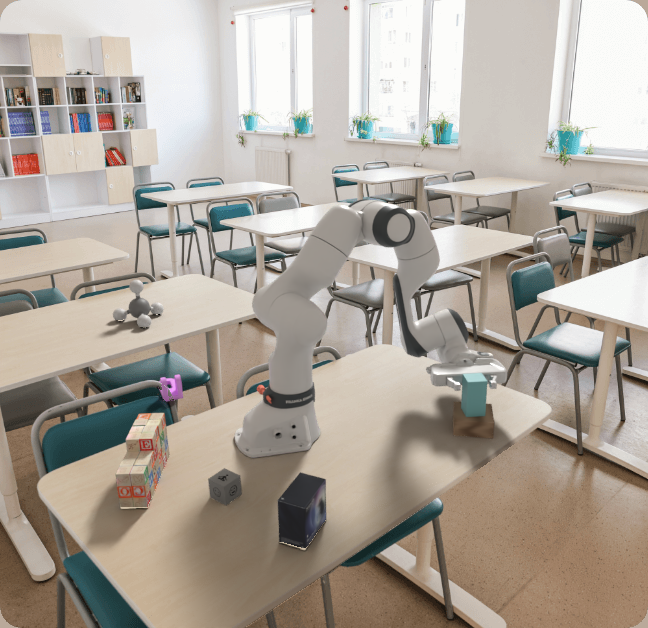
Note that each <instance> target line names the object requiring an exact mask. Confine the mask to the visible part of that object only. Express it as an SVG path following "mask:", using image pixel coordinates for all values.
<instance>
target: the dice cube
mask: <svg viewBox="0 0 648 628" xmlns="http://www.w3.org/2000/svg"><path fill="white" fill-rule="evenodd" d="M207 480H208V482H207V483H208V491H209V492H208V493H209V498H210V499H213V500H214V501H215V502H218V503H220V504H222V505H223V504H224V506H225V505H226V506H228V505H229V504H230V502H231V501H232V502H233V501H235V500H236V499H238V498H239V497H240V496H241V495H243V492H242V491H243V490H242V480H241V474H238V473H236V472H234V471H231V470H229V469H227V468H225V467H224V468H223V469H221V470H220V471H217V472H216V473H215V474H213V475H211V477H208V479H207ZM234 499H235V500H234ZM232 502H231V503H232ZM227 504H228V505H227Z"/></svg>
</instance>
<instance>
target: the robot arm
mask: <svg viewBox="0 0 648 628" xmlns="http://www.w3.org/2000/svg"><path fill="white" fill-rule="evenodd" d="M361 241H363V242H366V243H367V244H370V245H374V246H380V247H384V248H393V249H394V250H393V251H394V253H395V257H396V259H397V270H396V273H395V275H394V276H393V278H392V289H393V297H394V302H395V307H396V308H395V309H396V312H397V313H396V315H397V319H398V324H399V334H400V335H399V336H400V337H399V339H400V343H401V346H402V348H403V350H404V352H405V353H406V354H407V355H409V356H411V357H414V358H421V357H423V356H425V355H428V354H429V353H431V352H432V351H434V350H436V355H437V357H438V359H439V361H440V363H434V364H432V365H430V366H426V368H425V370H426V373H427V374H428V375H430V376H429V377H430V381H431V385H432V386H435V387H448V388H451V389H453V390H454V391H456V392H457V391H458V392H459V391H462V378H463V374H469V373H482V374H483V376H484V377H485V378H486V380H487V385H488V387H489V388H490V390H497V388H498V387H497V386H498V384H505V383H506V382H507V378H508V370H507V368H506V367H505V366H504V365H503V363H501V361H499V360H498V359H496V358H494V354H493V353H491V352H484V351H478V350H473V349H469V347H468V345H467V343H468V340H469V336H470V335H469V334H470V333H469V331H468V328H467V325H466V323H465V321H464V320H463V318H462V317H461V315H460V314H459V313H458V311H455V310H454V309H453V308H449V307H447V308H444V309H442V310H439V311H437V312H435V313H432V314H430V315H427V316H426V317H423V318H420V319H417V320H415V319H414V314H413V309H412V299H413V297H414V295H415V293H416V292H417V291H418V290H419V289H420V288H421V287H422V286H424V284H425V283H427V282H428V281H429V280H430V279H431V278H433V276H434V275H435V274H436V272H437V271H438V267H439V266H440V260H441V259H440V253H439V249H438V245H437V242H436V240H435V237H434V234H433V232H432V230H431V227H430V226H429V224H428V222H427V220H426V219H425V216H424V215H423V214H422V213H421V212H420V211H419V210H416V209H405V208H403V207H401V206H400V205H398V204H395V203H394V204H393V203H392V204H391V203H388V202H385V201H383V200H374V199H368V198H367V199H366V198H365V199H364V198H363V199H358V200H355V201H353V202H351V203H350V204H349V205H344V204H336V205H333V206H332V207H330V208H329V209H328V211H327V212H326V213H325V214H324V215H323V216H322V217H321V219H320V220H319V221H318V222H317V224H316V225H315V226H314V228H313V230H312V231H311V232H310V234H309V236H308V237H307V239H306V241H305V242H304V244H303V246H302V247H301V249H300V250H299V252H298V253H297V255H296V256H295V258H294V259H293V261H292V262H291V263H290V265H288V267H287V268H286V269H285V270H284V271H283V272H282V273H281V274H280V275H278V277H277V278H276V279H274V280H273V281H272V282H271V283H269V284H266V285H264V286H261V287H260V288H258V290H256V292H255V293H254V295H253V298H252V300H251V301H252V302H251V308H252V312H253V314H254V315H255V317H256V318H257V319H258V321H259V322H260V323H261V324H262V325H263V326H265V327H266V328H268V329H270V330H271V331H272V332H274V335H275V338H276V339H275V340H276V342H275V347H274V350H273V351H272V352H271V353H270V354H269V356H268V360H267V363H268V378H269V384H268V386H267V387H265V386H264V385H263V384H259V385H258V386H257V387H256V392H258V394H259V395H262V399H261V400H260V401H259V402H258V403H257V404H256V405H254V406H253V408H251V409H250V410H249V411H248V412H246V414H245V415H244V417H243V422H242V427H239V428H238V429H237V428H236V430H235V433H234V442H235V445H236V447H237V448H238V450H239V451H240V452H241V453H242V454H243V455H245V456H247V457H249V458H252V459H253V458H255V459H256V458H261V457H269V456H276V455H284V454H290V453H296V452H297V453H298V452H303V451H308V450H310V449H311V447H312V444H313V443H314V442H315V441H317V439H318V438H319V437H320V436H321V435H320V434H321V428H320V426H319V423H318V419H317V414H316V408H315V402H316V389H315V382H314V380H313V379H314V378H313V357H314V356H313V355H314V351H315V348H316V344H317V343H319V342H320V341H321V340H322V339H323V338H324V336H325V334H326V332H327V329H328V318H327V316H326V314H325V313H324V311H323V310H322V309H321V308H320V307H319V306H318V305H317V304H316V303H315V302H314V301H313V300H311V299H312V298H313V297H314V296H315V295H316V294H318V293H320V291H322V290H325V289H327V288H329V287H330V286H332V285H333V283H334V282H335V280H336V279H337V277H338V276H339V273H340V272H341V271H342V269H343V267H344V266H345V264H346V262H347V261H348V259H349V257H350V256H351V253H352V252H353V250H354V249H355V247H356V245H358V244H359V243H360V242H361Z"/></svg>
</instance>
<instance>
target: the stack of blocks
mask: <svg viewBox="0 0 648 628" xmlns="http://www.w3.org/2000/svg"><path fill="white" fill-rule="evenodd" d="M166 423H167V422H166V415H165V412H152V413H151V412H150V413H138V415H137V417H136V419H135V420H134V422H133V423H132V426H131V428H130V430H129V432H128V434H127V436H126V438H125V445H126V446H125V447H126V453H125V455H124V457H123V458H122V460H121V462H120V464H119V466H118V469H117V470H116V473H115V480H116V485H117V486H116V490H117V495H118V496H117V497H118V502H119V508H120V507H148V504H149V502H150V500H151V498H152V496H153V497H154V495H155V493H154V491H155V492H156V490H157V488H156V486H157V484H158V485H159V482H160V480H159V478H160V479H161V477H162V475H161V474H163V472H162V471H164V470H163V469H165V468H166V466H165V465H167V463H168V461H169V459H170V456H169V455H171V454H170V445H169V441H168V440H169V439H168V430H167V424H166ZM168 458H169V459H168ZM167 460H168V461H167ZM166 462H167V463H166ZM164 467H165V468H164ZM160 476H161V477H160ZM158 481H159V482H158ZM157 487H158V486H157ZM155 489H156V490H155ZM153 494H154V495H153ZM152 499H153V498H152ZM151 501H152V500H151ZM150 503H151V502H150ZM149 505H150V504H149ZM148 508H149V507H148Z"/></svg>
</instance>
